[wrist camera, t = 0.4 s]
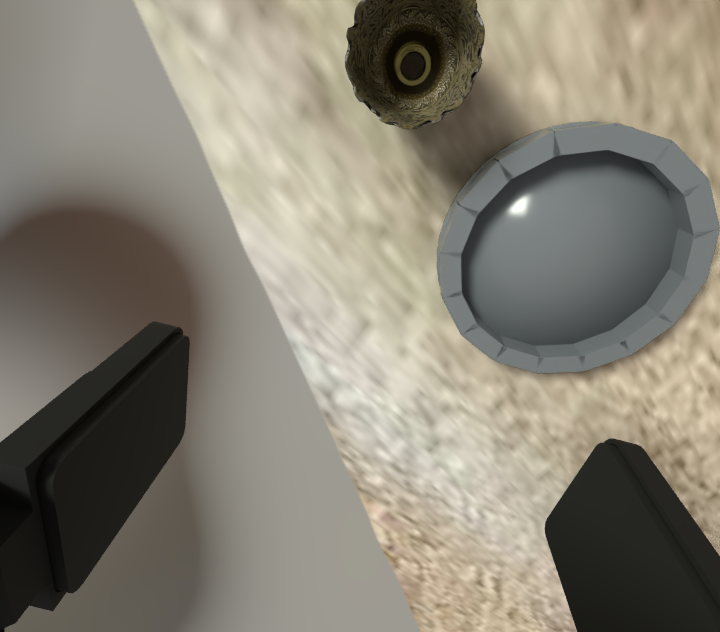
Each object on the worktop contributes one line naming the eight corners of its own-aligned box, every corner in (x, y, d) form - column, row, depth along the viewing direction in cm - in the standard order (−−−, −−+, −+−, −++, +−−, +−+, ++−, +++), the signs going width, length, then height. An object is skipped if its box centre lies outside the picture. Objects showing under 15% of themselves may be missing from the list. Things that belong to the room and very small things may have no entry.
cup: (489, 59, 28) (515, 42, 21) (414, 145, 31) (415, 156, 24) (411, -28, 27) (410, -77, 20) (340, 72, 30) (317, 61, 23)
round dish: (728, 102, 28) (756, 102, 26) (669, 353, 37) (686, 369, 34) (430, 140, 31) (432, 142, 29) (441, 363, 40) (443, 378, 38)
